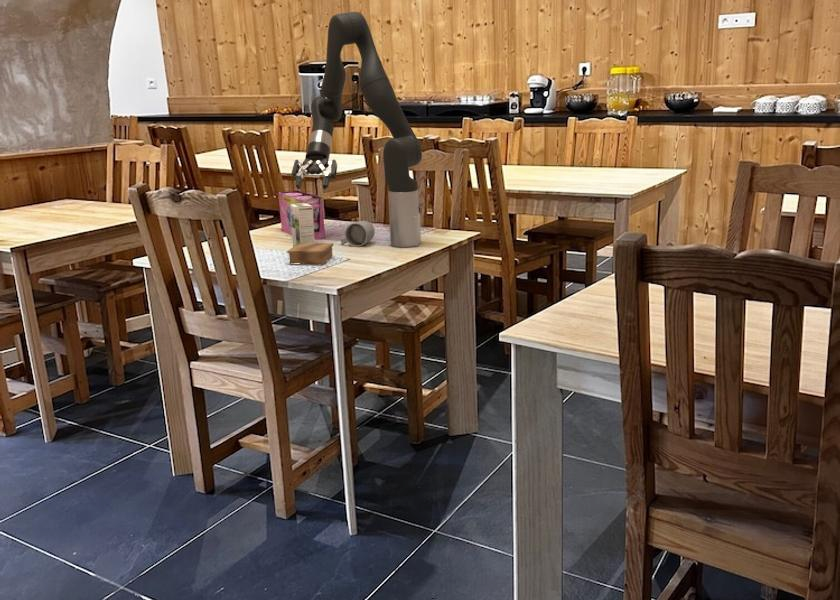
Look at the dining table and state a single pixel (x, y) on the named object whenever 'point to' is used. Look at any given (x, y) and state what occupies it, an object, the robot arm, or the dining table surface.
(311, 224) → the syrup box
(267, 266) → the dining table surface
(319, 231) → the gum box
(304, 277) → the dining table surface
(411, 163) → the robot arm
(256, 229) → the dining table surface
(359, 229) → the ceramic mug
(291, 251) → the plinth
